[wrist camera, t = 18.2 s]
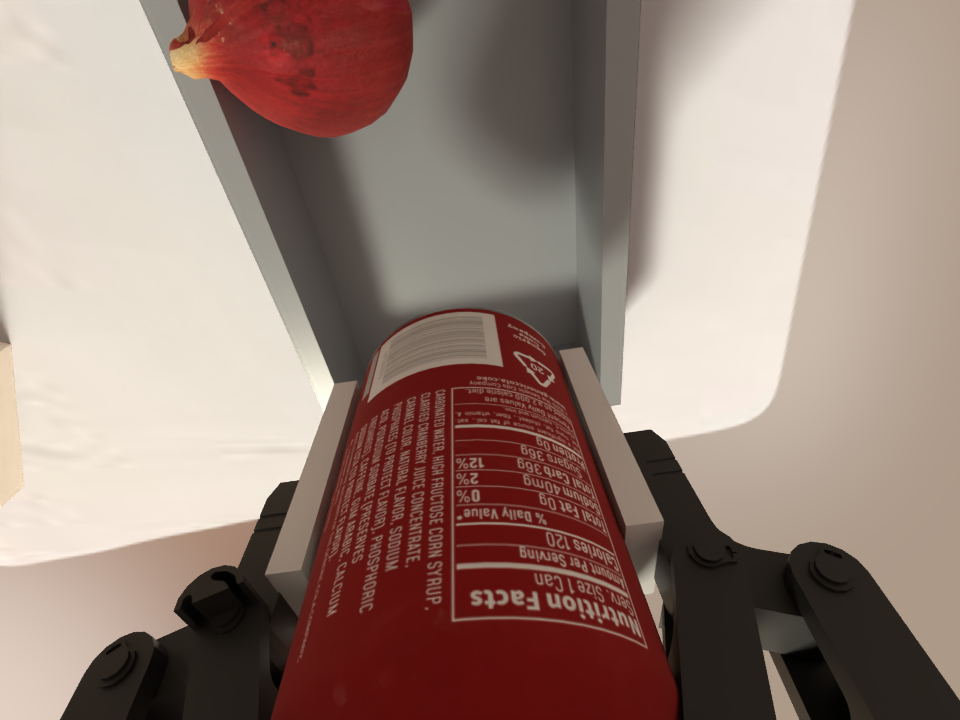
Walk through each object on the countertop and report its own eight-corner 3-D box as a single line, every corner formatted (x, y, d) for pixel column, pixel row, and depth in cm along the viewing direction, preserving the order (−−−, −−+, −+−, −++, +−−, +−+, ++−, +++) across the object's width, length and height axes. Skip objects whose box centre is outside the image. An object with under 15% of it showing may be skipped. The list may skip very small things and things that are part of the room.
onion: (374, -172, 13) (60, -216, 8) (494, 17, 14) (282, 74, 9) (318, 5, 17) (99, 42, 13) (411, 135, 18) (242, 213, 14)
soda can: (349, 303, 14) (91, 903, 4) (563, 287, 14) (838, 833, 4) (386, 455, 18) (302, 961, 8) (554, 442, 18) (687, 924, 8)
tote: (146, -172, 14) (17, -272, 10) (595, -258, 13) (660, -400, 9) (356, 384, 26) (338, 445, 22) (592, 349, 26) (620, 404, 22)
